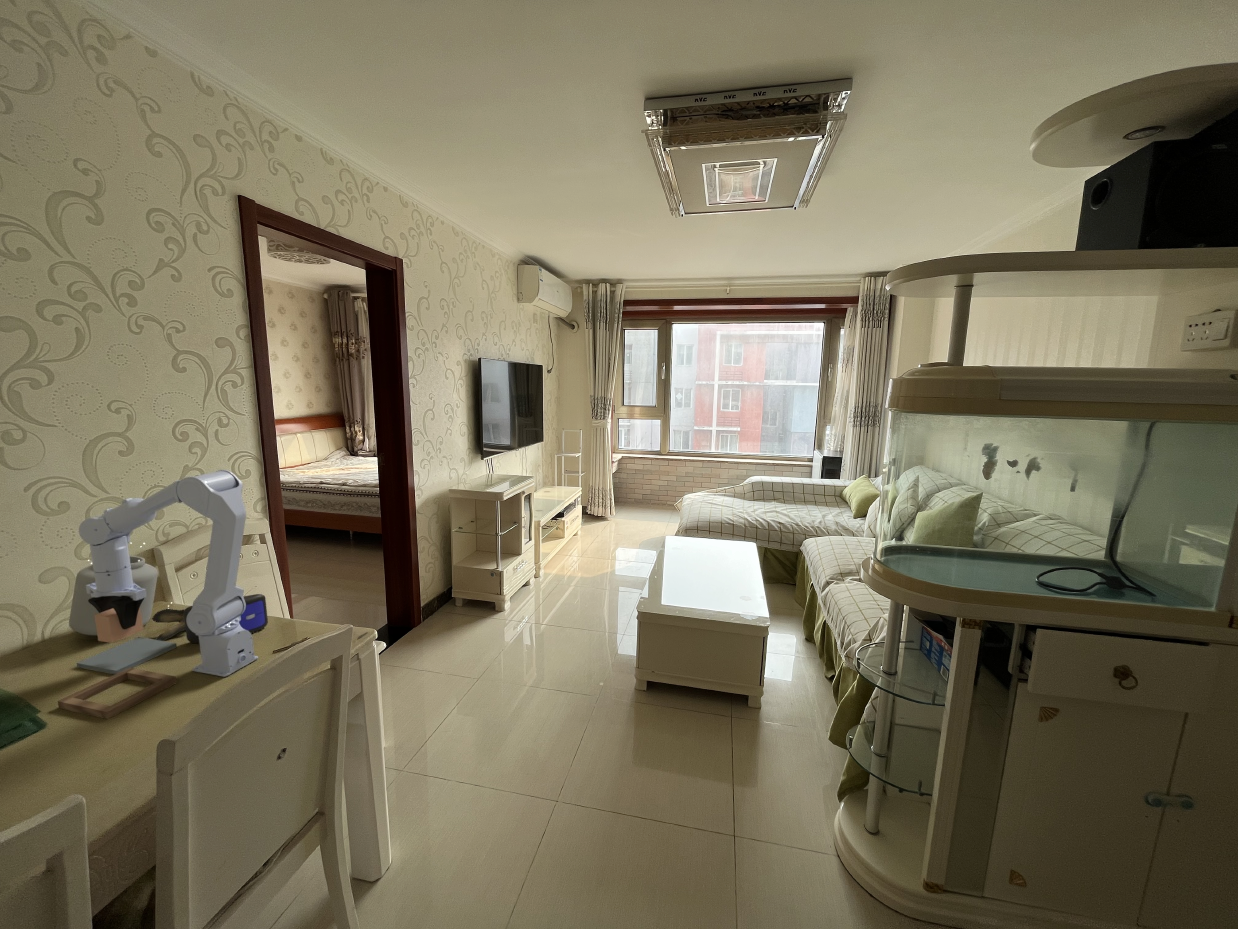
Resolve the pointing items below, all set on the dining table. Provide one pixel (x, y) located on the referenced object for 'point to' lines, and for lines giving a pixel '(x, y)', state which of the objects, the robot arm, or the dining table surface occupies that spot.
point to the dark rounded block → (250, 619)
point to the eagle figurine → (169, 617)
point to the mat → (126, 655)
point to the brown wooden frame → (79, 703)
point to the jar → (81, 608)
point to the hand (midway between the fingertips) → (121, 626)
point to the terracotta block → (114, 626)
